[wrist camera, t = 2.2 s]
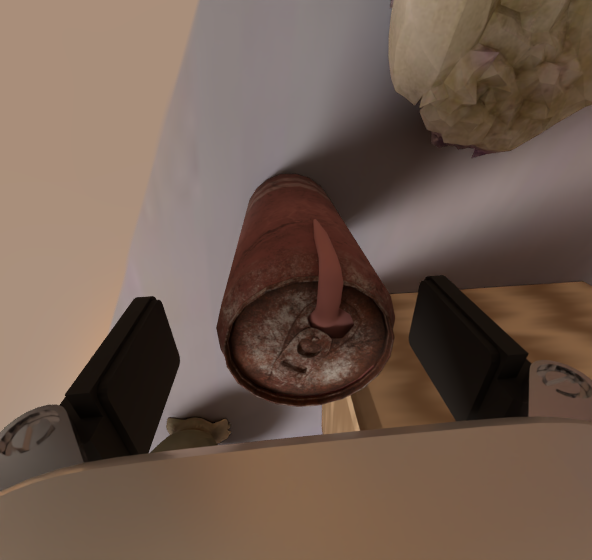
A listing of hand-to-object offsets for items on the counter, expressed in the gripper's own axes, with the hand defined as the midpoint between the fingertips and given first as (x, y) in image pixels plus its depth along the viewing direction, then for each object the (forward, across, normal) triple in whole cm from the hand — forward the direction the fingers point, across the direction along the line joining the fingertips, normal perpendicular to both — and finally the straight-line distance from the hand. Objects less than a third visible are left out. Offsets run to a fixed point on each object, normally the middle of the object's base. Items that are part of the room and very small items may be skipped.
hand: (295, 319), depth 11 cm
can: (+12, -1, 0) cm, 12 cm away
